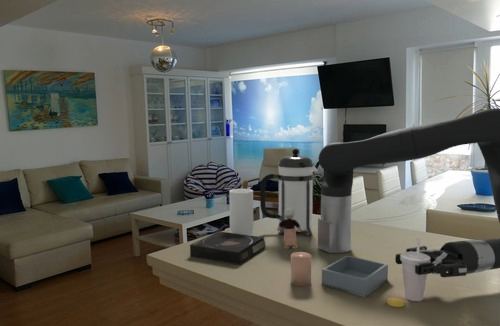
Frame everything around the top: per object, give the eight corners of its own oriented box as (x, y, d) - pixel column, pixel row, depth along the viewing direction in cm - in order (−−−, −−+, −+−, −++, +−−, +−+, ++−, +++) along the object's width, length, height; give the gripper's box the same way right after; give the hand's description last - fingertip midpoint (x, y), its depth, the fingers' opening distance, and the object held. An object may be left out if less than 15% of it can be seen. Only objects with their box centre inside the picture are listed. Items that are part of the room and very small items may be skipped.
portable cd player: (240, 266, 116) (240, 252, 116) (190, 257, 124) (190, 244, 124) (265, 249, 131) (265, 237, 130) (219, 243, 139) (218, 231, 138)
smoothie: (432, 304, 90) (434, 242, 89) (401, 302, 92) (402, 240, 90) (426, 292, 96) (428, 233, 95) (397, 291, 98) (398, 232, 96)
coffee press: (295, 224, 161) (295, 146, 158) (325, 233, 148) (325, 148, 145) (259, 231, 151) (258, 148, 148) (287, 241, 138) (287, 151, 135)
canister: (297, 287, 100) (297, 259, 99) (287, 280, 105) (287, 253, 104) (315, 284, 102) (315, 256, 102) (304, 277, 107) (304, 250, 106)
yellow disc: (395, 308, 89) (395, 306, 89) (383, 302, 92) (383, 299, 92) (407, 305, 90) (408, 302, 90) (395, 299, 93) (395, 296, 93)
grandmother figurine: (299, 245, 134) (300, 206, 133) (302, 248, 130) (302, 208, 129) (276, 245, 134) (276, 207, 132) (278, 249, 130) (277, 209, 128)
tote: (365, 297, 95) (365, 280, 94) (321, 285, 102) (322, 269, 101) (387, 279, 105) (387, 264, 104) (346, 269, 112) (346, 255, 111)
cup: (229, 232, 149) (228, 188, 148) (252, 232, 150) (251, 188, 148) (230, 239, 141) (229, 192, 140) (254, 238, 142) (254, 192, 140)
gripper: (445, 233, 104) (387, 239, 99) (493, 250, 90) (428, 258, 85) (444, 262, 104) (386, 269, 100) (492, 283, 91) (427, 293, 86)
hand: (406, 264), depth 93 cm, fingers closed on smoothie, 6 cm apart
